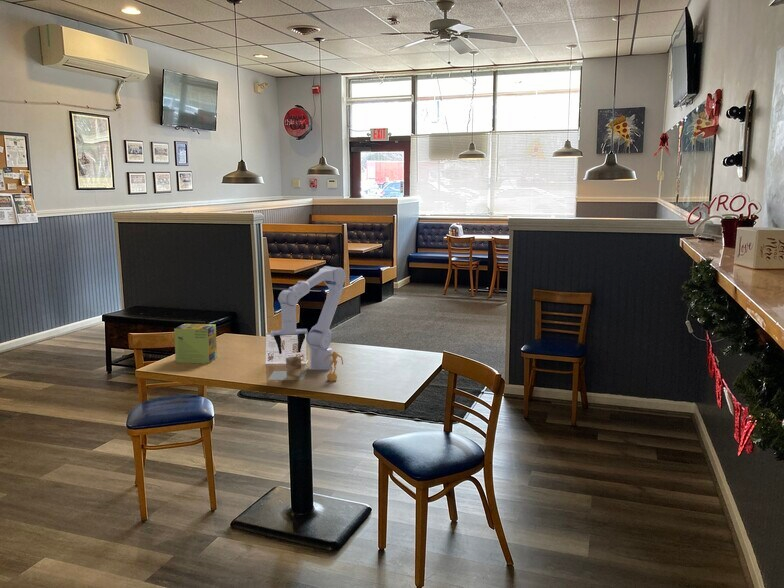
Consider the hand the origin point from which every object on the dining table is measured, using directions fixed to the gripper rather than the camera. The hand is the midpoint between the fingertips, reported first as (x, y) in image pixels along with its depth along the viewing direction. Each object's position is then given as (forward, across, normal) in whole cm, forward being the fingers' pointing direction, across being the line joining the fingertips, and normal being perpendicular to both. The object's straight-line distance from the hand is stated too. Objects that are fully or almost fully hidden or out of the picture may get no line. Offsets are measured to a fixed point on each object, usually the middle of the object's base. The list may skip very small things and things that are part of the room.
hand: (289, 352), depth 249 cm
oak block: (+9, -1, +5) cm, 10 cm away
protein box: (+10, +36, -36) cm, 52 cm away
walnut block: (+5, -1, +5) cm, 7 cm away
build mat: (+10, +1, +1) cm, 10 cm away
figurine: (+10, -15, +12) cm, 22 cm away
